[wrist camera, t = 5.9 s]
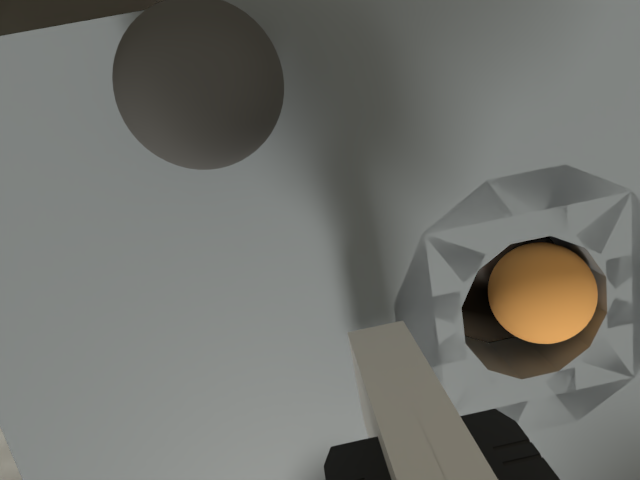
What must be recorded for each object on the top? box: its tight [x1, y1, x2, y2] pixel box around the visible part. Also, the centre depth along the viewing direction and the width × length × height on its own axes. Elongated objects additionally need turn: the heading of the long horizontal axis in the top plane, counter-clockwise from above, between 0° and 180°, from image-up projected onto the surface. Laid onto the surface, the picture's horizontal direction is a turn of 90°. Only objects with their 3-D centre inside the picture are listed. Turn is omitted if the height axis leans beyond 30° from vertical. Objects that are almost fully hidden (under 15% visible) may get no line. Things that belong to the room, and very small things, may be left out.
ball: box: [488, 242, 598, 344], centre depth 17 cm, size 3×3×3 cm
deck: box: [0, 0, 640, 480], centre depth 17 cm, size 22×20×2 cm
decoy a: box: [112, 0, 284, 170], centre depth 11 cm, size 4×4×4 cm
